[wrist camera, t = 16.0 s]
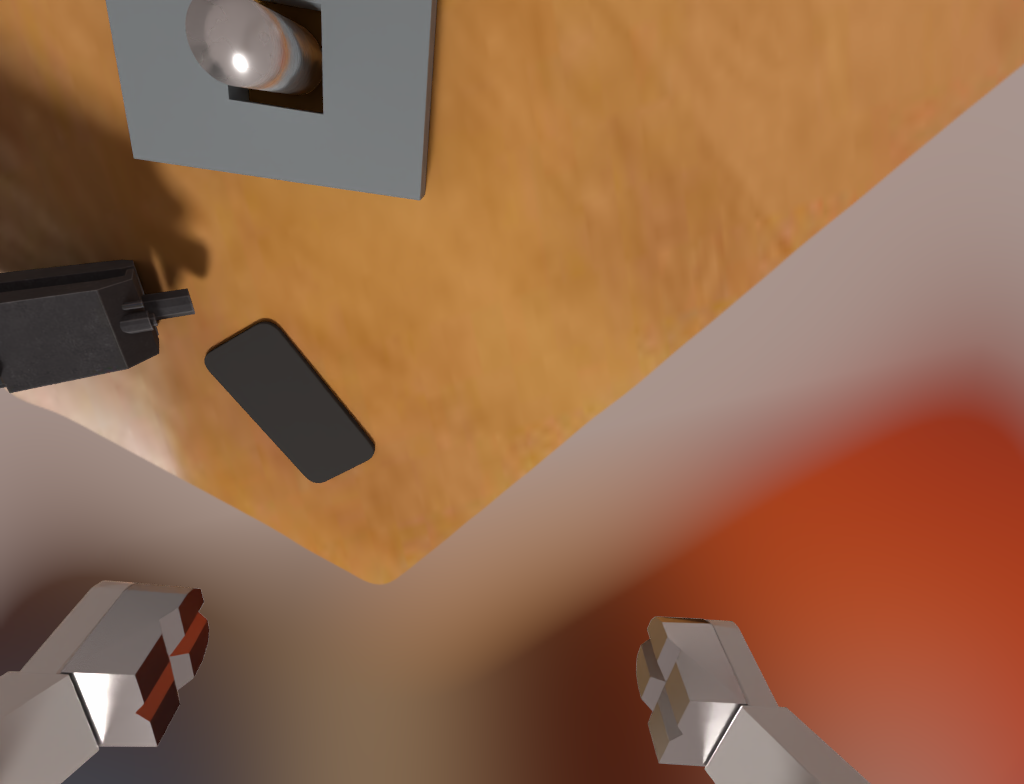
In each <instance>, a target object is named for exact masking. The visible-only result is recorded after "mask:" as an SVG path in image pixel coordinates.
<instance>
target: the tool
mask: <svg viewBox="0 0 1024 784" xmlns="http://www.w3.org/2000/svg"><path fill="white" fill-rule="evenodd" d="M191 314H195V311H194V308H193V305H192V301H191V298H190V295H189V292H188V289H181V290H174V291H167V292H160V293H153V294H146V295H145V293H144V290H143V288H142V285H141V282H140V279H139V276H138V274H137V271H136V268H135V265H134V262H133V260H116V261H106V262H97V263H88V264H79V265H70V266H60V267H51V268H42V269H33V270H24V271H14V272H5V273H0V388H4V387H7V389H8V391H9V393H13V392H18V391H23V390H27V389H32V388H37V387H42V386H47V385H52V384H57V383H61V382H66V381H71V380H76V379H81V378H86V377H91V376H95V375H100V374H105V373H110V372H115V371H120V370H125V369H129V368H131V367H133V366H135V365H137V364H139V363H141V362H143V361H145V360H147V359H149V358H151V357H153V356H155V355H157V354H159V338H158V335H159V334H158V330H157V327H156V326H158V324H157V320H160V319H166V318H172V317H179V316H185V315H191Z"/></svg>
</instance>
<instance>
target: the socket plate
mask: <svg viewBox="0 0 1024 784" xmlns="http://www.w3.org/2000/svg"><path fill="white" fill-rule="evenodd" d="M191 1H192V0H106V5H107V11H108V16H109V22H110V28H111V33H112V39H113V44H114V50H115V56H116V61H117V67H118V72H119V78H120V84H121V89H122V95H123V100H124V106H125V112H126V117H127V123H128V128H129V134H130V140H131V145H132V151H133V156H134V159H141V160H148V161H155V162H161V163H168V164H175V165H182V166H189V167H195V168H202V169H209V170H216V171H223V172H230V173H236V174H243V175H250V176H257V177H264V178H271V179H277V180H284V181H291V182H298V183H305V184H312V185H318V186H325V187H332V188H339V189H346V190H353V191H359V192H366V193H373V194H380V195H387V196H393V197H400V198H407V199H414V200H421V199H422V198H423V196H424V195H425V186H426V170H427V154H428V138H429V122H430V106H431V90H432V75H433V59H434V43H435V27H436V11H437V0H262V1H267V2H273V3H278V4H284V5H289V6H295V7H300V8H306V9H311V10H317V11H321V23H322V69H323V113H320V112H313V111H307V110H301V109H295V108H289V107H282V106H276V105H270V104H264V103H258V102H251V101H249V90H248V88H243V87H236V86H231V85H227V84H224V83H222V82H220V81H218V80H216V79H215V78H213V77H212V76H211V75H209V74H208V73H207V72H206V71H205V70H204V69H203V68H202V67H201V65H200V64H199V63H198V61H197V60H196V58H195V57H194V55H193V53H192V51H191V49H190V46H189V43H188V40H187V36H186V28H185V20H186V14H187V10H188V7H189V5H190V3H191Z"/></svg>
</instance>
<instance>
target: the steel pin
mask: <svg viewBox="0 0 1024 784" xmlns="http://www.w3.org/2000/svg"><path fill="white" fill-rule="evenodd" d="M185 28H186V36H187V40H188V43H189V46H190V49H191V51H192V53H193V55H194V57H195V58H196V60H197V61H198V63H199V64H200V65H201V67H202V68H203V69H204V70H205V71H206V72H207V73H208V74H209V75H211V76H212V77H213V78H215V79H216V80H218V81H220V82H222V83H224V84H227V85H231V86H236V87H243V88H250V89H257V90H264V91H271V92H278V93H285V94H292V95H304V94H307V93H309V92H311V91H313V90H314V89H315V88H316V87H317V86H318V84H319V83H320V81H321V79H322V76H323V69H322V51H321V48H320V46H319V44H318V42H317V40H316V39H315V38H314V36H313V35H312V34H311V33H310V32H309V31H308V30H307V29H306V28H304V27H303V26H301V25H299V24H297V23H296V22H294V21H292V20H290V19H288V18H286V17H284V16H282V15H280V14H278V13H276V12H274V11H272V10H271V9H269V8H267V7H265V6H263V5H261V4H259V3H257V2H255V1H253V0H192V1H191V3H190V5H189V7H188V10H187V14H186V20H185Z"/></svg>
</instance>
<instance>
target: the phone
mask: <svg viewBox="0 0 1024 784" xmlns="http://www.w3.org/2000/svg"><path fill="white" fill-rule="evenodd" d="M205 365H206V367H207V369H208V370H209V371H210V373H211V374H212V375H213V376H214V377H215V378H216V379H217V380H218V381H219V383H220V384H221V385H222V386H223V387H224V388H225V389H226V390H227V391H228V392H229V393H230V395H231V396H232V397H233V398H234V399H235V400H236V401H237V402H238V403H239V404H240V406H241V407H242V408H243V409H244V410H245V411H246V412H247V413H248V414H249V415H250V417H251V418H252V419H253V420H254V421H255V422H256V423H257V424H258V425H259V426H260V428H261V429H262V430H263V431H264V432H265V433H266V434H267V435H268V436H269V437H270V438H271V440H272V441H273V442H274V443H275V444H276V445H277V446H278V447H279V448H280V449H281V451H282V452H283V453H284V454H285V455H286V456H287V457H288V458H289V459H290V460H291V462H292V463H293V464H294V465H295V466H296V467H297V468H298V469H299V470H300V471H301V472H302V474H303V475H304V476H305V477H306V478H307V479H309V480H310V481H312V482H315V483H322V482H325V481H327V480H329V479H331V478H333V477H335V476H337V475H339V474H341V473H343V472H345V471H347V470H350V469H352V468H354V467H356V466H358V465H359V464H361V463H363V462H365V461H367V460H369V459H370V458H371V457H372V456H373V454H374V451H375V447H374V444H373V443H372V441H371V440H370V439H369V437H368V436H367V435H366V434H365V432H364V431H363V430H362V429H361V428H360V426H359V425H358V423H357V422H356V421H355V419H354V418H353V417H352V416H351V415H350V414H349V413H348V411H347V409H346V408H345V407H344V406H343V404H342V403H341V402H339V400H338V399H337V398H336V397H335V396H334V394H333V393H332V392H331V391H330V389H329V388H328V387H327V386H326V384H325V383H324V382H323V381H322V380H321V378H320V377H319V376H318V375H317V373H316V372H315V371H314V370H313V368H312V367H311V366H310V365H309V363H308V362H307V361H306V360H305V359H304V357H303V356H302V355H301V354H300V352H299V351H298V350H297V349H296V347H295V346H294V345H293V344H292V343H291V341H290V340H289V339H288V338H287V336H286V335H285V334H284V333H283V332H282V330H281V329H280V328H279V327H278V326H277V325H275V324H273V323H271V322H260V323H258V324H256V325H254V326H253V327H251V328H249V329H247V330H246V331H244V332H242V333H241V334H239V335H237V336H235V337H234V338H232V339H230V340H229V341H227V342H225V343H224V344H222V345H220V346H219V347H217V348H215V349H214V350H212V351H211V352H209V353H208V354H207V355H206V357H205Z"/></svg>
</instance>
